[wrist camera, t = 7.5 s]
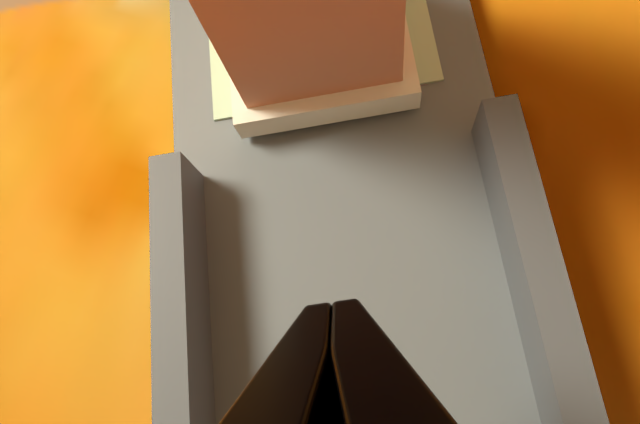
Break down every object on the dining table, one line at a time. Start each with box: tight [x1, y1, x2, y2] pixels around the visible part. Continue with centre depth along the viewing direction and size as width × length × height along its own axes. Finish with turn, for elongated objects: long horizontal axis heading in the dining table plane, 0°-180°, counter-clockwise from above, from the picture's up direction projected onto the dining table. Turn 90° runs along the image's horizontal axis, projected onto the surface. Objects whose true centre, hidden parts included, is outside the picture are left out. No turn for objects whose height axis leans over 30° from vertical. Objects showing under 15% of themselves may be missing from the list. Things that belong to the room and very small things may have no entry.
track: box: [149, 0, 610, 424], centre depth 14 cm, size 30×11×3 cm, turn 7°
